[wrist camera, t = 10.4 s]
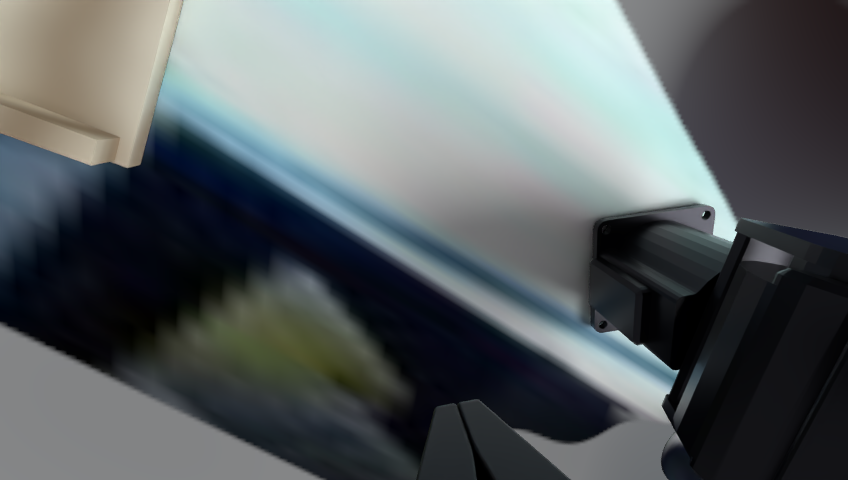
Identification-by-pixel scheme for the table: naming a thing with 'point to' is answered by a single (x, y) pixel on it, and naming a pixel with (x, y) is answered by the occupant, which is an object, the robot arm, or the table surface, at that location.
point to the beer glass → (676, 461)
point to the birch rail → (84, 74)
